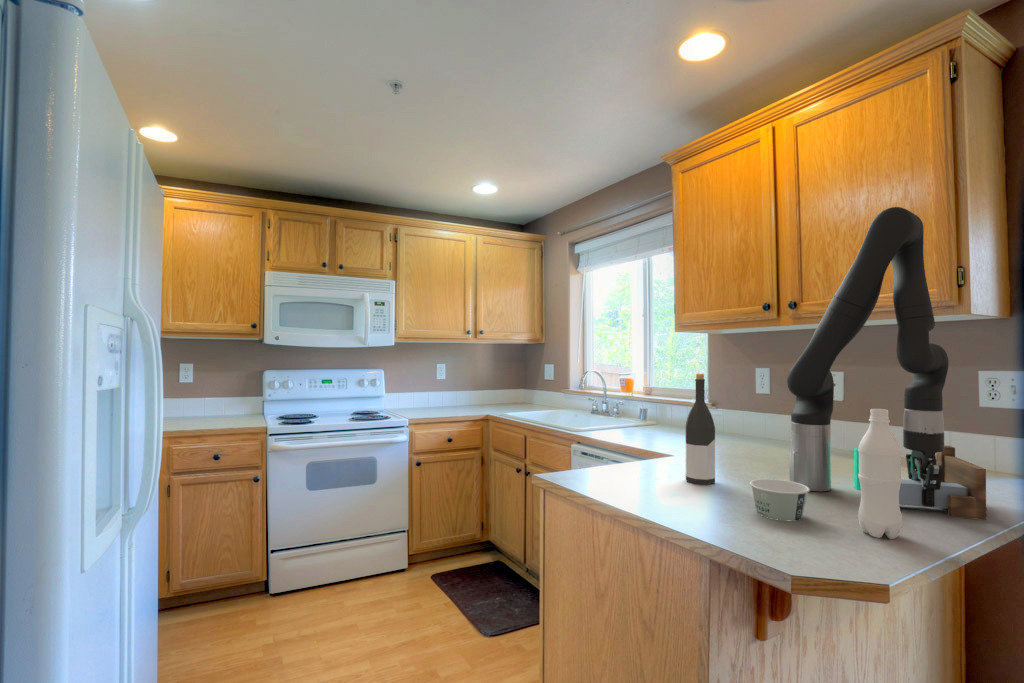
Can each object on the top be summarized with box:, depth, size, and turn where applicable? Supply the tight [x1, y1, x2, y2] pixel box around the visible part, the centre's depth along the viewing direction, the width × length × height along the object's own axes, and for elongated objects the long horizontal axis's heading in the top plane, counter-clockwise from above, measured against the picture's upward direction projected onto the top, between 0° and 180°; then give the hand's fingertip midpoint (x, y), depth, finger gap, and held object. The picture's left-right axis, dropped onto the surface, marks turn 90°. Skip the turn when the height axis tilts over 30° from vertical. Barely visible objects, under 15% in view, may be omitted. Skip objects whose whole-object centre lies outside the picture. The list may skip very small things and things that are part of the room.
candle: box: [853, 447, 861, 491], centre depth 140 cm, size 6×6×12 cm
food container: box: [749, 478, 811, 521], centre depth 119 cm, size 12×12×6 cm
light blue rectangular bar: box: [899, 479, 968, 510], centre depth 122 cm, size 14×4×5 cm, turn 72°
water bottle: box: [857, 408, 903, 540], centre depth 106 cm, size 7×7×25 cm
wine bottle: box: [685, 373, 716, 486], centre depth 148 cm, size 8×8×30 cm
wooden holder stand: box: [935, 445, 987, 521], centre depth 125 cm, size 7×18×13 cm, turn 162°
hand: (923, 503), depth 123 cm, fingers closed on light blue rectangular bar, 4 cm apart
